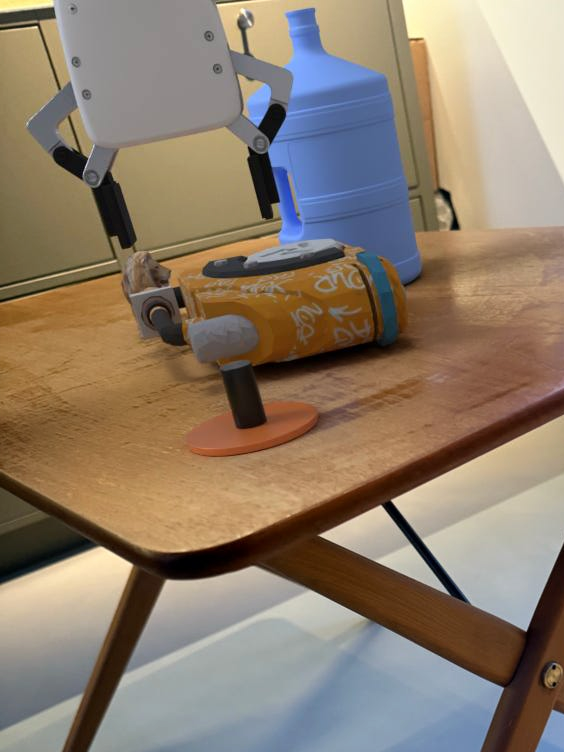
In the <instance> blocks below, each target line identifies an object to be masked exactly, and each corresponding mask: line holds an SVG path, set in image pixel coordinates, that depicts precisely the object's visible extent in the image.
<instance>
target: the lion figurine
mask: <svg viewBox="0 0 564 752" xmlns="http://www.w3.org/2000/svg"><path fill="white" fill-rule="evenodd" d="M171 276H172V269H171V268H168V267H167V266H164V265H162V264H160V263H159V261H157V260H154V259H153V257H152V253H150V252H149V251H146V250H141V251H136V252H134V253H133V254H131V255H130V256H129V257H128V259H126V260H125V263H124V265H123V268H122V277H121V280H120V285H121V291H122V294H123V296H124V298H125V299H126V301H127V303H128V304H129V306H130V310H131V311H130V312H131V314H132V316H133V318H134V321H135V322H136V326H137V328H138V329H140V327H139V324H138V321H137V318H136V315H135V312H134V308H133V305H132V302H131V299H130V295H131V294H136V293H140V292H142V291H143V290H145V289H147V288H149V287H155V288H163V287H168V286H170V281H169V279H171ZM138 337H139V339H140V340H144V339H143V337H142V334H141V331H140V330H139V334H138Z"/></svg>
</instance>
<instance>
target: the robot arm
mask: <svg viewBox="0 0 564 752" xmlns="http://www.w3.org/2000/svg"><path fill="white" fill-rule="evenodd" d="M52 2H53V8H54V14H55V20H56V24H57V29H58V33H59V39H60V42H61V46H62V50H63V51H62V52H63V54H64V60H65V63H66V67H67V71H68V75H69V79H70V80H69V81H68V82H67V83H66V84H65V85H64V86H63V87H62V88H61V89H60V90H59V91H58V92H57V93H56V94H55V95H54V96H53V97H52V98H50V99H49V101H47V102H46V103H45V104H44V105H43V106H42V107H41V108H40V109H39V110H38V111H36V113H35V114H33V116H32V117H30V119H29V120H28V121H27V122H26V130H27V132H28V133H29V134H30V135H31V137H33V139H34V140H35V141H36V142H37V143H38V144H39V145H40V146H41V147H42V149H43V150H44V151H45V152H46V153H48V154H49V156H50V157H51V158H52V159H53V161H54V163H55V164H56V165H58V166H59V167H61V168H62V169H63V170H65V171H66V172H68V173H70V174H71V175H73V176H74V177H76V178H77V179H79V180H81V181H82V182H83V183H84V184H85V185H86V186H88V187H89V188H92V191H93V194H94V197H95V200H96V203H97V207H98V209H99V211H100V215H101V218H102V221H103V224H104V227H105V231H106V232H107V235H108V236H109V238H113V237H116V238H117V239H118V243H119V245H120V246H119V247H120V248H121V250H122V251H123V250H127V249H131V248H132V247H133V246H134V245H135V243H136V242H137V241H138V237H137V234H136V231H135V228H134V224H133V221H132V218H131V216H130V211H129V209H128V205H127V203H126V200H125V196H124V193H123V190H122V187H121V184H120V182H117V181H116V180H115V179H114V177H113V174H112V172H111V171H112V170H113V167H114V164H115V162H116V159H117V156H118V154H119V151H120V150H121V149H126V148H131V147H132V148H133V147H137V146H143V145H147V144H152V143H158V142H162V141H168V140H173V139H178V138H183V137H188V136H193V135H197V134H198V135H199V134H203V133H206V132H212V131H215V130H219V129H223V128H225V129H227V130H228V131H230V132H231V133H232V134H233V135H234V136H236V138H237V139H239V140H240V141H241V142H243V143H244V144H245V145H246V148H247V153H248V156H247V158H246V161H247V166H248V169H249V174H250V177H251V181H252V185H253V188H254V192H255V197H256V200H257V204H258V208H259V211H260V215H261V219H265V221H267V220H273V219H274V209H273V206H272V205H274V204H278V203H280V198H279V194H278V190H277V186H276V182H275V177H274V173H273V169H272V165H271V161H270V157H269V153H268V149H269V147H270V146H271V144H272V142H273V140H274V138H275V137H276V135H277V133H278V131H279V129H280V128H281V126H282V124H283V122H284V120H285V118H286V114H287V109H288V104H289V99H290V94H291V90H292V85H293V74H292V73H291V71H289V70H288V69H285V68H283V67H282V66H279V65H277V64H273V63H270V62H266V61H265V60H261V59H259V58H256V57H253V56H250V55H247V54H244V53H241V52H238V51H235V50H232V49H231V47H230V44H229V41H228V38H227V33H226V31H225V28H224V24H223V22H222V18H221V14H220V12H219V8H218V5H217V2H216V0H52ZM238 75H240V76H243V77H246V78H248V79H251V80H254V81H257V82H260V83H263V84H267V85H268V86H269V87H270V89H271V97H270V102H269V107H268V110H267V112H266V114H265V116H264V117H263V119H262V121H261V123H260V125H259V126H256V125H255V124H254V123H253V122H252V121H250V120H249V118H248V116H246V115H245V114H243V113H244V107H245V104H244V97H243V91H242V87H241V84H240V80H239V77H238ZM77 109H78V113H79V115H80V118H81V122H82V124H83V127H84V129H85V132H86V135H87V136H88V138H89V140H90V141H91V142H92V143H93V146H92V148H91V151H90V154H89V157H88V156H86V155H85V154H83V153H81V152H80V151H79V150H77V149H75V148H74V147H72V146H70V145H69V143H68V142H67V141H66V140H65V138H64V137H63V136H62V135H61V132H60V130H59V128H60V125H61V124H62V123H63V122H64V121H65V120H67V118H68V117H69V116H71V114H72V113H74V112H75V111H76V110H77Z"/></svg>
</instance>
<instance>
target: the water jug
mask: <svg viewBox="0 0 564 752" xmlns="http://www.w3.org/2000/svg"><path fill="white" fill-rule="evenodd" d="M284 16H285V18H286V19H287V22H288V23H287V24H288V26H289V29H288V34H289V37H290V39H291V45H292V50H293V52H292V53H293V55H292V57H291V59H290V60H289V62H287V63H286V64H285V65H284V66H283V67H282V68H285V69H288V70H289V71H291V73H292V74H293V85H292V90H291V94H290V99H289V104H288V109H287V114H286V118H285V120H284V122H283V124H282V126H281V128H280V129H279V131H278V133H277V135H276V137H275V138H274V140H273V142H272V144H271V146H270V147H269V149H268V153H269V157H270V161H271V165H272V169H273V173H274V177H275V182H276V186H277V190H278V194H279V198H280V203H277V207H278V211H279V215H280V219H281V223H282V225H281V226H282V227H281V230H280V231H279V232H278V237H277V238H278V241H279V246H280V245H284V244H289V243H295V242H301V241H306V240H317V239H333V240H335V241H338V242H341V243H344V244H346V245H349V246H351V247H354V248H355V247H361V248H362V249H364V250H366V251H369V252H371V253H373V254H376V255H378V256H380V257H383V258H385V259H387V260H388V261H389V262H390V263H391V264H392V265H393V266H394V267H395V269H396V270H397V273H398V275H399V278H400V281H401V284H402V285H403V286H404V285H407V284H409V283H411V282H412V281H414V280H415V279H417V278H418V277H419V275H420V274H421V272H422V269H423V264H422V259H421V253H420V250H419V248H418V244H417V238H416V233H415V227H414V221H413V216H412V215H413V214H412V211H411V204H410V194H409V193H410V191H409V186H408V185H409V184H408V179H407V175H406V174H405V171H404V166H403V160H402V155H401V149H400V143H399V139H398V132H397V131H398V130H397V127H396V121H395V120H396V119H395V116H396V115H395V108H394V102H393V97H392V93H391V92H390V88H389V82H388V78H387V76H386V74H384V73H382V72H379V71H377V70H374V69H371V68H368V67H366V66H363V65H360V64H357V63H355V62H352V61H350V60H346V59H344V58H341V57H339V56H335V55H334V54H330V53H329V52H327V51H326V50H325V47H324V46H323V44H322V39H321V34H320V32H321V31H320V26H319V24H317V23H318V22H317V19H316V7H306V8H301V9H295V10H291V11H286V12H284ZM270 97H271V89H270V87H269V86H268V85H267V84H265V83H263V85H261V86H260V87H259V89H257V90H256V91H255V92H254V93H253V94H251V96H249V97H248V99H247V100H246V108H247V112H248V117H249V118H248V119H249V120H250V121H252V122H253V123H254V124H255V125H256V126H259V125H260V123H261V121H262V119H263V117H264V116H265V114H266V112H267V110H268V107H269V102H270ZM288 174H289V175H290V178H291V182H292V183H291V184H292V187H293V192H294V195H295V200H296V204H297V205H296V206H297V209H298V213H299V217H298V215H297V210H296V206H295V202H294V197H293V193H292V188H291V184H290V180H289V175H288ZM299 218H300V219H299Z"/></svg>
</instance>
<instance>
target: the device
mask: <svg viewBox="0 0 564 752" xmlns="http://www.w3.org/2000/svg"><path fill="white" fill-rule="evenodd" d="M176 278H177V282H178V286H174V287H173V286H172V285H169V286H168V287H163V286H162V288H155V287H149V288H147V289H145V290H143V291H142V292H140V293H136V294H131V295H130V299H131V302H132V305H133V308H134V312H135V315H136V318H137V321H138V324H139V327H140V328H139V332H140V331H141V332H140V333H141V334H142V337H143V339H142V340H148V339H151V338H155V337H160V339H161V340H162V342H163V343H164V344H166V345H170V346H172V347H185V346H188V347H189V348H192V350H193V353H194V356H195V359H196V361H197V362H198V363H199V364H200V365H203V364H208V363H212V362H213V363H217V364H218V366H219V368H220V367H221V366H223V365H225V364H227V363H230V362H234V361H240V360H249V361H251V362H252V365H253V367H257V366H260V365H263V364H267V363H284V362H290V361H291V362H292V361H295V360H299V359H303V358H307V357H311V356H316V355H320V354H324V353H328V352H333V351H337V350H341V349H345V348H350V347H353V346H358V345H362V344H366V343H370V342H373V341H375V342H376V343H377V344H379V345H380V346H382V347H385V346H387V345H388V346H389V345H392V344H393V343H395V342H397V341H398V336H399V335H400V334H404V333H405V331H406V329H407V328H408V322H409V312H408V306H407V305H408V304H407V302H408V299H407V292H406V289H405V287H404V285H402V284H401V281H400V278H399V275H398V273H397V270H396V269H395V267H394V266H393V265H392V264H391V263H390V262H389V261H388V260H387V259H385V258H383V257H380V256H378V255H376V254H373V253H371V252H369V251H366V250H364V249H362V248H361V247H355V248H354V247H351V246H349V245H346V244H344V243H341V242H338V241H335V240H333V239H317V240H306V241H301V242H295V243H289V244H284V245H280V244H279V245H277V246H273V247H269V248H266V249H264V250H260V251H258V252H256V253H255V252H254V253H253V254H250V255H248V256H245V255H236V256H232V257H225V258H220V259H214V260H210V261H208V262H207V263H205V265H204V266H199V267H195V268H190V269H186V270H185V269H184V270H182V271H177V276H176ZM184 308H185V310H186V313H187V317H188V319H185V320H183V317H182V314H181V309H184Z"/></svg>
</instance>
